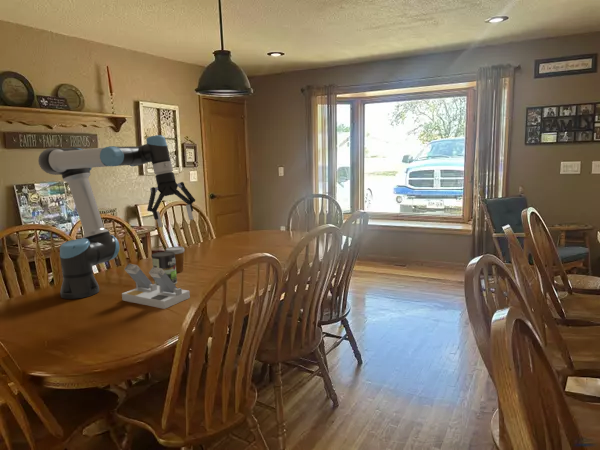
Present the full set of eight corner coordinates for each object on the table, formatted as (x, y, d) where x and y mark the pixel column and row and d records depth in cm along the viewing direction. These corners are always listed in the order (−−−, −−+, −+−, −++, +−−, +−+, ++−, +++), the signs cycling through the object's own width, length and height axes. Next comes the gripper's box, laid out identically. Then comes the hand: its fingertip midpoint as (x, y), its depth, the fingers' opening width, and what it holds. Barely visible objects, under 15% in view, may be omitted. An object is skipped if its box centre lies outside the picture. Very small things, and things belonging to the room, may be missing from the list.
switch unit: (122, 300, 179) (121, 287, 178) (148, 290, 191) (147, 278, 190) (164, 308, 168) (163, 295, 167) (190, 297, 180) (189, 285, 179)
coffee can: (181, 280, 205) (178, 251, 202) (170, 287, 195) (168, 256, 192) (161, 279, 207) (158, 251, 204) (149, 286, 197) (147, 256, 195)
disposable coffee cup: (163, 273, 219) (160, 249, 217) (175, 268, 227) (173, 245, 225) (178, 274, 215) (176, 250, 213) (190, 269, 224) (188, 246, 222)
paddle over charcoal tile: (163, 292, 178) (146, 272, 170) (167, 287, 180) (151, 266, 172) (175, 294, 175) (159, 274, 166) (179, 289, 176) (163, 268, 168)
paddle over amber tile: (139, 288, 185) (122, 268, 176) (143, 283, 186) (126, 263, 178) (151, 290, 181) (134, 270, 173) (155, 285, 183) (138, 265, 175)
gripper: (136, 176, 169) (150, 229, 171) (195, 167, 184) (207, 216, 186) (131, 179, 175) (144, 230, 177) (188, 170, 190) (199, 217, 192)
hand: (176, 223), depth 181 cm, fingers open, 13 cm apart
